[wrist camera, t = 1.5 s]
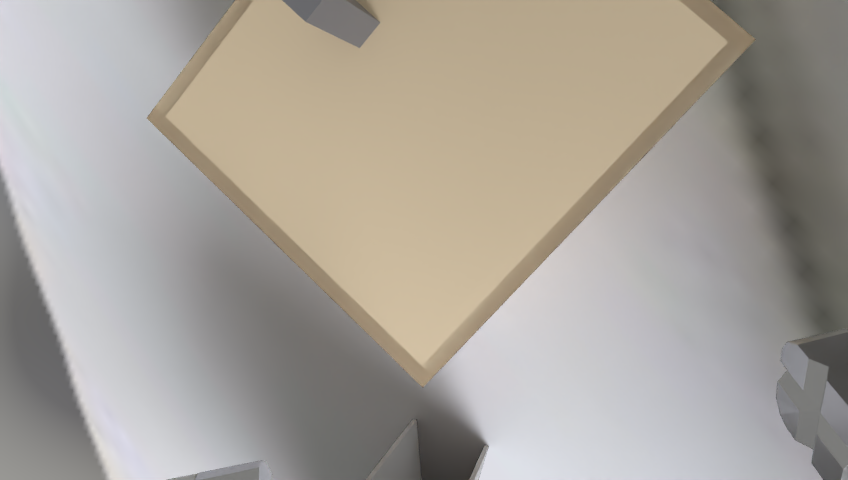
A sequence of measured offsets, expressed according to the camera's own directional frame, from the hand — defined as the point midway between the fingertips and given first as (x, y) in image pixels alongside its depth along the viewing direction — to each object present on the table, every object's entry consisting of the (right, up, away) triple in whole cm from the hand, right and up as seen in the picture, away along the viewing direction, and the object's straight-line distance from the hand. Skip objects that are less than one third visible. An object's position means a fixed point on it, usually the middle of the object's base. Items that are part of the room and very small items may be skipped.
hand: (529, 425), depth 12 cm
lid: (-1, +11, +28) cm, 30 cm away
